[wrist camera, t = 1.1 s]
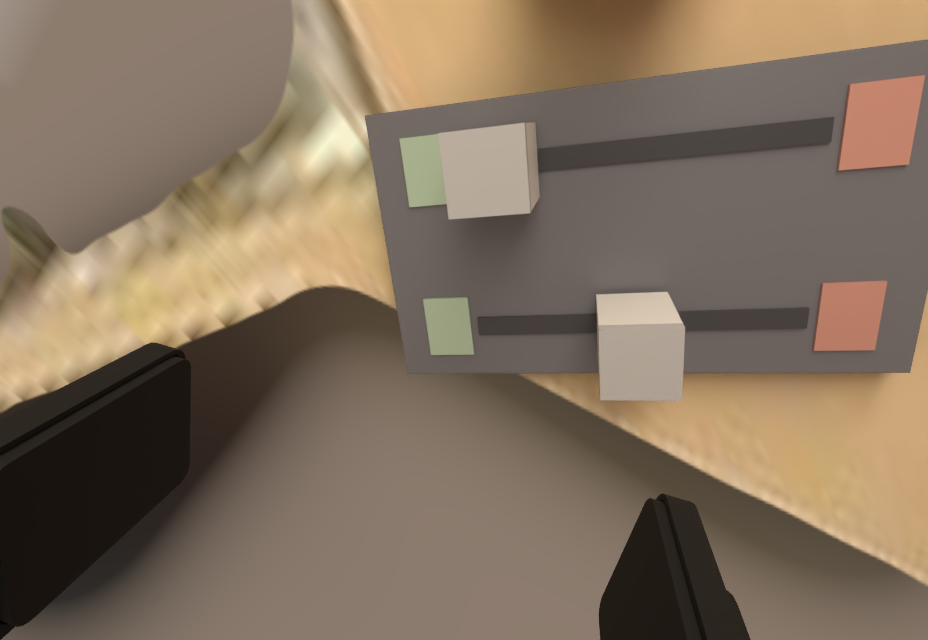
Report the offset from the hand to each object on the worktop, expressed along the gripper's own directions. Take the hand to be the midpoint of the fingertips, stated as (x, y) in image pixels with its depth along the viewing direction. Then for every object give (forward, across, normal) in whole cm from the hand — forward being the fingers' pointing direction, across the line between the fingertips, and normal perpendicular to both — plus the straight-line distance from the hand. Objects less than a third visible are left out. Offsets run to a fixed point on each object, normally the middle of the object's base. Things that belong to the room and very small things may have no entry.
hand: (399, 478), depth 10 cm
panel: (+24, -7, -2) cm, 25 cm away
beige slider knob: (+22, -8, +3) cm, 24 cm away
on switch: (+22, +1, -5) cm, 23 cm away
